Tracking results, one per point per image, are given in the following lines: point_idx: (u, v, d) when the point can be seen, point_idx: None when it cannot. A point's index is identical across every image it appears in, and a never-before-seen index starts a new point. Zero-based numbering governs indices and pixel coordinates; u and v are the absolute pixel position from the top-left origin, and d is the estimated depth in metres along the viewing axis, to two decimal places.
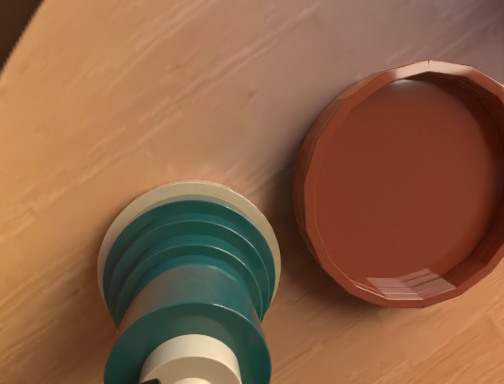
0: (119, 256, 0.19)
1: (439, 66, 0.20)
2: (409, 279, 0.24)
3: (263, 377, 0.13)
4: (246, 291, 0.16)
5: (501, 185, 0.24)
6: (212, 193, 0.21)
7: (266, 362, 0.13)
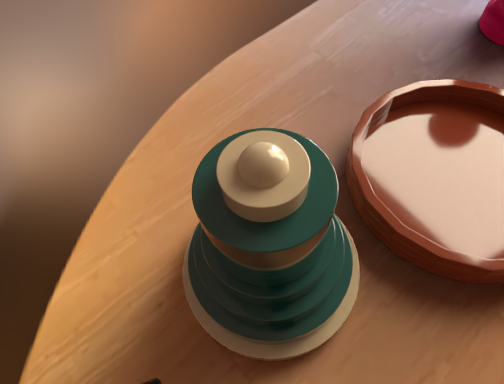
0: None
1: (428, 83, 0.28)
2: None
3: (330, 180, 0.14)
4: None
5: None
6: None
7: (330, 168, 0.15)
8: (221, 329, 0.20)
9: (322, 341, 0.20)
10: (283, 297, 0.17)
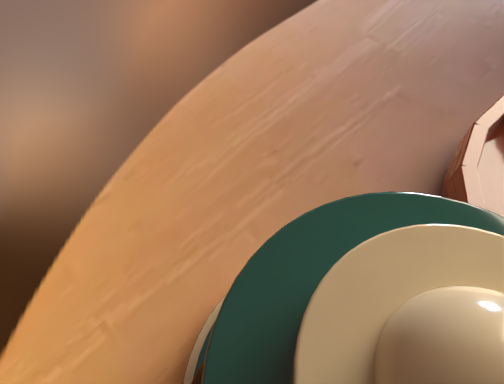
0: None
1: None
2: None
3: None
4: None
5: None
6: None
7: None
8: None
9: None
10: None
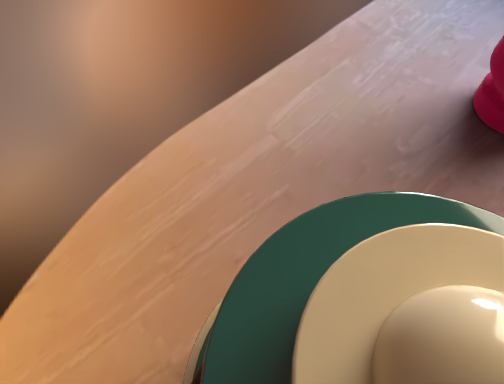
0: None
1: None
2: None
3: None
4: None
5: None
6: None
7: None
8: None
9: None
10: None
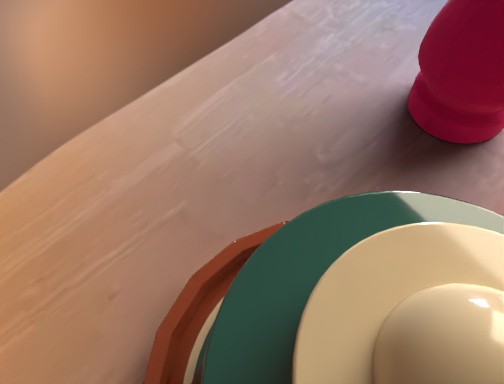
0: None
1: None
2: None
3: None
4: None
5: None
6: None
7: None
8: None
9: None
10: None
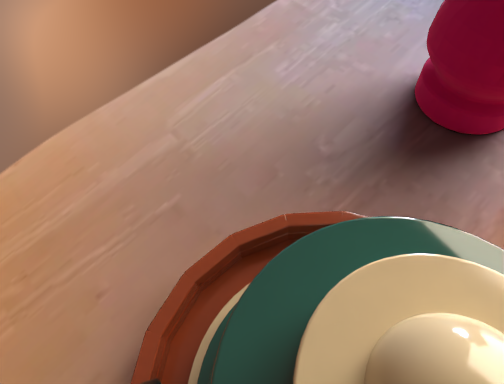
0: None
1: (301, 218, 0.16)
2: None
3: None
4: None
5: None
6: None
7: None
8: None
9: None
10: None
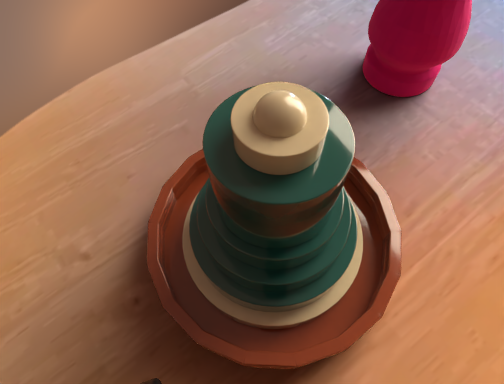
0: None
1: None
2: (290, 343, 0.20)
3: (347, 139, 0.14)
4: None
5: (376, 231, 0.23)
6: None
7: (347, 128, 0.14)
8: (218, 292, 0.20)
9: (319, 312, 0.19)
10: (285, 260, 0.16)
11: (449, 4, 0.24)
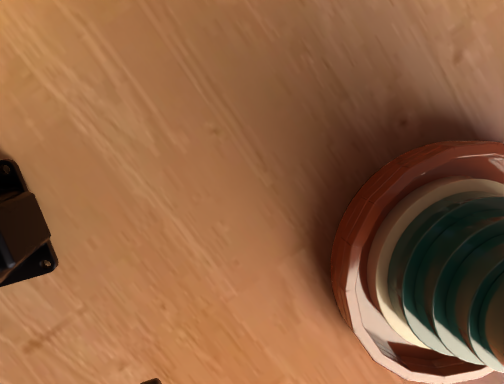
0: None
1: None
2: None
3: None
4: None
5: (437, 355, 0.24)
6: None
7: None
8: (412, 219, 0.20)
9: (382, 309, 0.21)
10: (464, 319, 0.17)
11: None
